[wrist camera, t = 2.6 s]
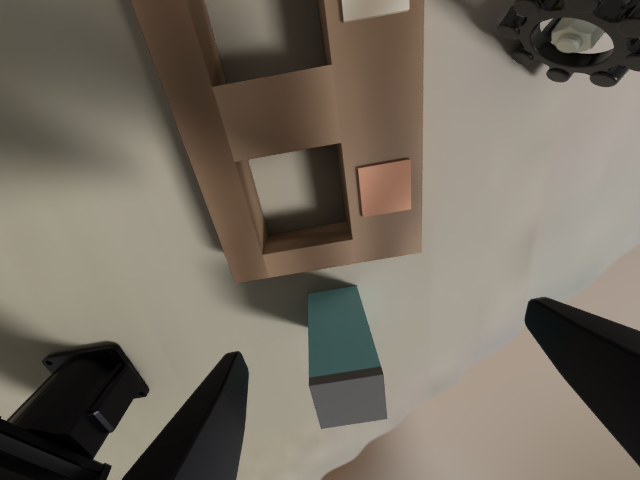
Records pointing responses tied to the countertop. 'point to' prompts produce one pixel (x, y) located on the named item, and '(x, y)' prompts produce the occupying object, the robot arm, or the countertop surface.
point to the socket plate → (303, 130)
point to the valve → (576, 37)
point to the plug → (343, 360)
